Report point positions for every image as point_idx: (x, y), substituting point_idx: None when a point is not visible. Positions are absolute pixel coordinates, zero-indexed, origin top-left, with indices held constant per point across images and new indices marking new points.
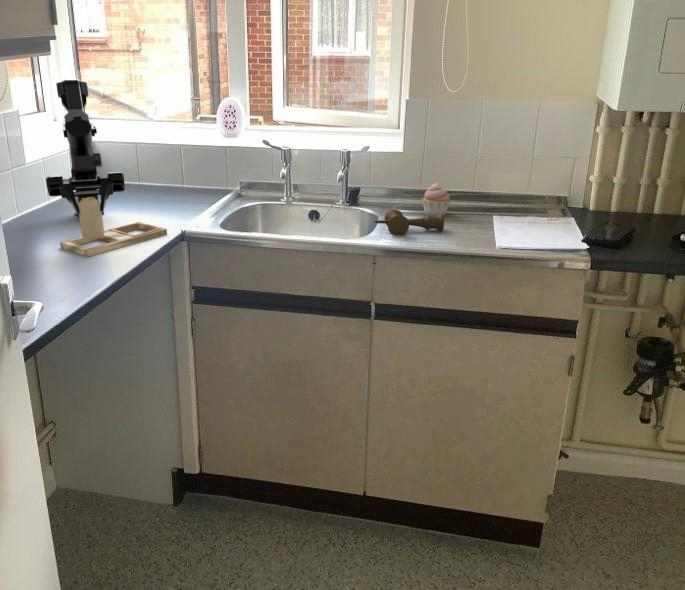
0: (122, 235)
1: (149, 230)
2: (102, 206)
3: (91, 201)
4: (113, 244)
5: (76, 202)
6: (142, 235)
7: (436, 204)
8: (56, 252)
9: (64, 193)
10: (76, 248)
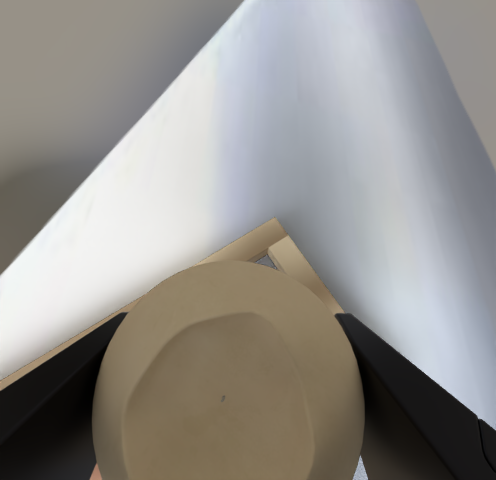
0: None
1: None
2: (106, 330)
3: (193, 301)
4: None
5: (385, 382)
6: (22, 368)
7: None
8: (398, 322)
9: None
10: (319, 281)
